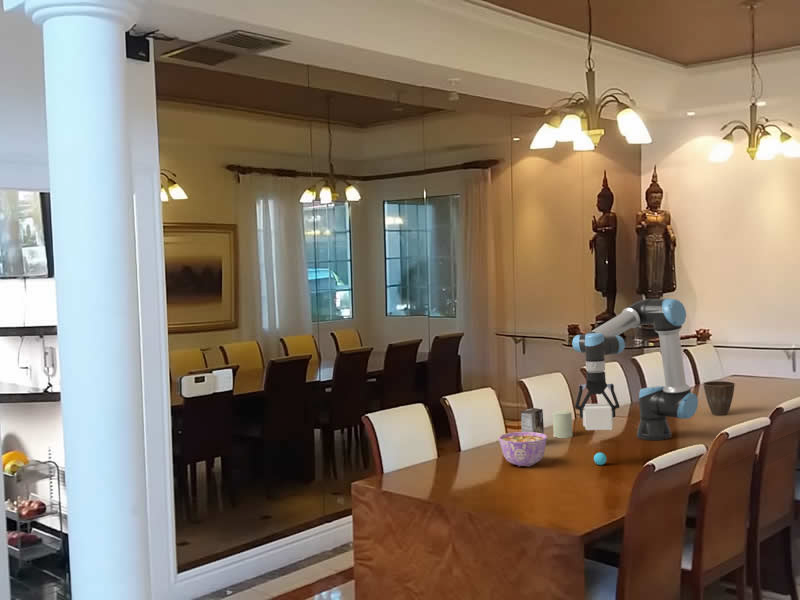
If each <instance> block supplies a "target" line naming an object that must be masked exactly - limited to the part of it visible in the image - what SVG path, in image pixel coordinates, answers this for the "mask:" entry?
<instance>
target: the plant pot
mask: <svg viewBox="0 0 800 600" xmlns="http://www.w3.org/2000/svg"><path fill="white" fill-rule="evenodd" d="M735 385H736V384H735V382H732V381H720V380H719V381H715V380H714V381H706V382H703V389H704V394H705V398H706V401H707V405H708V408H709V410H710V412H711V414H712V415H714V416H722V417H723V416H727V415H729V412H730V410H731V405H732V402H733V398H734V391H735V387H736V386H735Z"/></svg>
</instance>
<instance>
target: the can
mask: <svg viewBox="0 0 800 600" xmlns="http://www.w3.org/2000/svg"><path fill="white" fill-rule="evenodd" d="M572 415H573V414H572V411H570V410H563V409H562V410H553V411H552V412H551V416H552V430H553V435H552V436H553V437H554V438H556V437H557V439H568V438H569V439H570V438H572V437H573V436H574V435H573V418H572V417H573V416H572Z"/></svg>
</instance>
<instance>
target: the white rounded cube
mask: <svg viewBox="0 0 800 600" xmlns="http://www.w3.org/2000/svg"><path fill="white" fill-rule="evenodd" d="M583 409H584V410H585V426H584V429H585V430H586V431H613V426H612V417H611V409H612V408H611V406H610V405H609V403H586V404H585V406H584V408H583Z"/></svg>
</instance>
